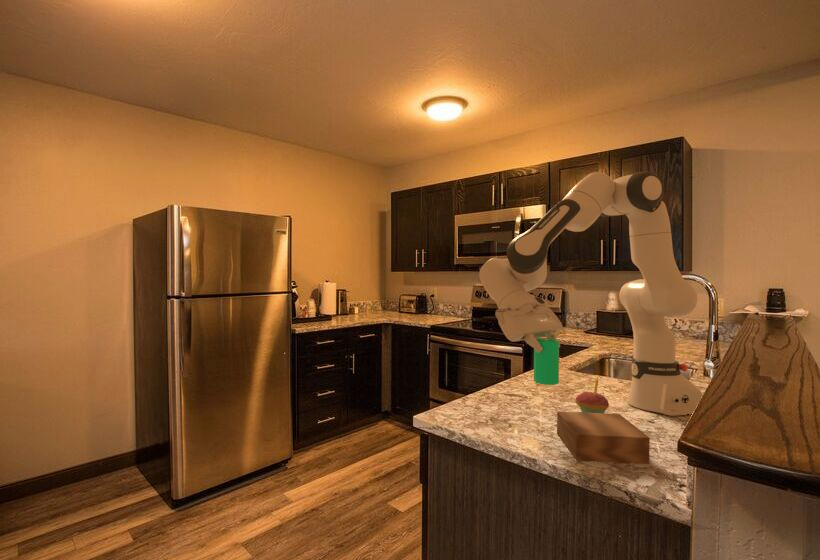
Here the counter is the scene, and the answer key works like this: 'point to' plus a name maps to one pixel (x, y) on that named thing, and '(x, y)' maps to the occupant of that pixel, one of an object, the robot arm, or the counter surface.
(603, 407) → the cupcake
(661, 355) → the robot arm
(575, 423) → the walnut block
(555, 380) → the candle
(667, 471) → the counter surface
